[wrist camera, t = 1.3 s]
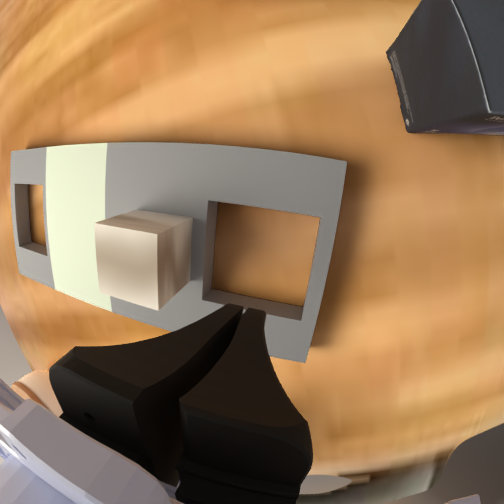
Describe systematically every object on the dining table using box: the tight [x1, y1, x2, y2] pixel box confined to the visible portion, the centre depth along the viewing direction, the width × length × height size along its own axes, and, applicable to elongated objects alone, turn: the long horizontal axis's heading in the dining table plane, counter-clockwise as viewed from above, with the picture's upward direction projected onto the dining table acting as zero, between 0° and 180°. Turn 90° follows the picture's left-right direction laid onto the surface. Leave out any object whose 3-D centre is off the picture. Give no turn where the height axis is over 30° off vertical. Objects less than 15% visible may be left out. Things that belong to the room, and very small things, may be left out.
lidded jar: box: [11, 370, 63, 417], centre depth 30 cm, size 11×11×9 cm
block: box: [94, 210, 193, 311], centre depth 18 cm, size 4×4×4 cm
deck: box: [11, 142, 347, 363], centre depth 21 cm, size 14×32×2 cm, turn 84°
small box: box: [386, 0, 504, 135], centre depth 9 cm, size 11×6×10 cm, turn 101°
